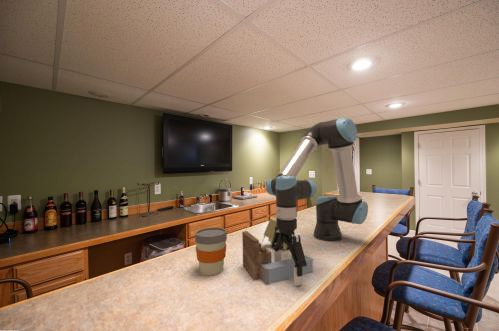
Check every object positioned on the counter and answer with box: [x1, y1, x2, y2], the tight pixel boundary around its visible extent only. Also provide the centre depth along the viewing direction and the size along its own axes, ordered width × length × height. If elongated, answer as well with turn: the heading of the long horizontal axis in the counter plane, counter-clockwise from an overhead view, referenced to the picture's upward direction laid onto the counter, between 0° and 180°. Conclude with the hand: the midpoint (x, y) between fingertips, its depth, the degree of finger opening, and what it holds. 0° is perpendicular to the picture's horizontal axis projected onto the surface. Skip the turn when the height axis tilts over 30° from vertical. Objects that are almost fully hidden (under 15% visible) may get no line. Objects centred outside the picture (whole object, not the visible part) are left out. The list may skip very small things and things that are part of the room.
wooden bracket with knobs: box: [241, 230, 273, 281], centre depth 82 cm, size 7×12×14 cm, turn 22°
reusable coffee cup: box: [194, 227, 228, 277], centre depth 83 cm, size 13×13×15 cm
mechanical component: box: [260, 216, 293, 251], centre depth 106 cm, size 8×17×20 cm, turn 79°
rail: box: [260, 254, 314, 285], centre depth 78 cm, size 20×4×5 cm, turn 113°
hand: (287, 275), depth 78 cm, fingers open, 13 cm apart
